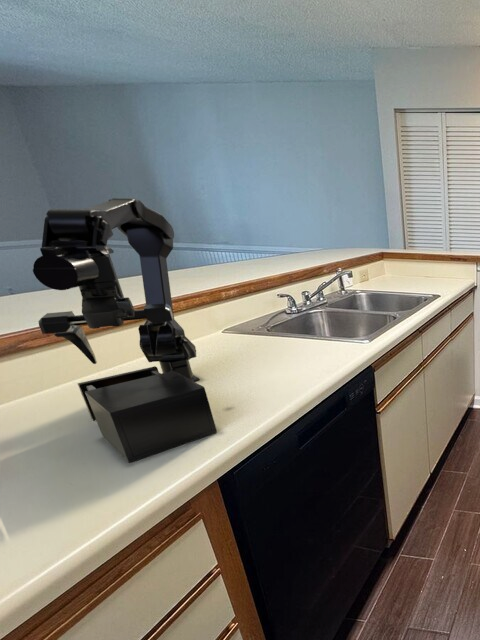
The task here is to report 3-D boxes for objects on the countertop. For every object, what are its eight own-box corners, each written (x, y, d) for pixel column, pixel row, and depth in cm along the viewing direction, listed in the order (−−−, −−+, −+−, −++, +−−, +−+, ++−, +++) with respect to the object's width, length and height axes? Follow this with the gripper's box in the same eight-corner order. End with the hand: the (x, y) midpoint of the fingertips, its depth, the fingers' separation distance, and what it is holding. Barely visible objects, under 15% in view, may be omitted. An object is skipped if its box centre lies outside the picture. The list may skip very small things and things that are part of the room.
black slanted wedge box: (103, 437, 80) (84, 391, 76) (186, 412, 90) (173, 370, 86) (129, 463, 72) (109, 413, 68) (217, 432, 82) (204, 387, 79)
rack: (90, 417, 85) (75, 381, 82) (163, 397, 95) (153, 365, 92) (113, 439, 77) (98, 400, 74) (190, 415, 87) (180, 380, 84)
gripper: (13, 292, 68) (51, 381, 74) (159, 283, 78) (182, 362, 84) (31, 282, 77) (65, 363, 82) (161, 275, 87) (182, 347, 93)
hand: (125, 359), depth 85 cm, fingers open, 9 cm apart
